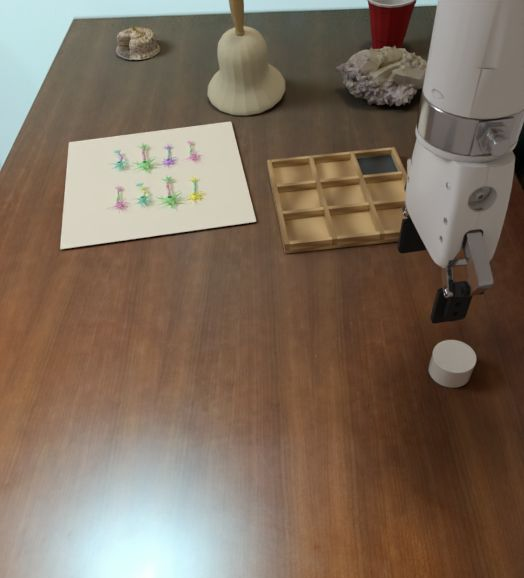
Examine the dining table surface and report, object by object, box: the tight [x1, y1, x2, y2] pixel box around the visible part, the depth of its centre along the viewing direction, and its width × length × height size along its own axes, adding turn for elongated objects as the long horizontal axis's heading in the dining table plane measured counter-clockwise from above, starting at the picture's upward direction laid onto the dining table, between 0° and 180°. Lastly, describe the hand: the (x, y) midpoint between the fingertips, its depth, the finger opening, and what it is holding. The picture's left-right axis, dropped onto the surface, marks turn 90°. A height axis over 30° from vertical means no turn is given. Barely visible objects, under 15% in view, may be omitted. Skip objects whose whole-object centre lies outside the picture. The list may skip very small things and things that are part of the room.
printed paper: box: [59, 121, 257, 250], centre depth 98 cm, size 30×30×2 cm
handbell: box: [207, 0, 286, 117], centre depth 104 cm, size 15×15×25 cm
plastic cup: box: [366, 0, 418, 49], centre depth 119 cm, size 11×11×12 cm
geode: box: [335, 46, 428, 107], centre depth 110 cm, size 17×9×15 cm
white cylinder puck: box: [427, 339, 477, 389], centre depth 69 cm, size 5×5×3 cm
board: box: [266, 146, 407, 255], centre depth 92 cm, size 22×22×2 cm
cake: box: [115, 26, 161, 61], centre depth 128 cm, size 10×10×5 cm
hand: (429, 282), depth 56 cm, fingers open, 9 cm apart
